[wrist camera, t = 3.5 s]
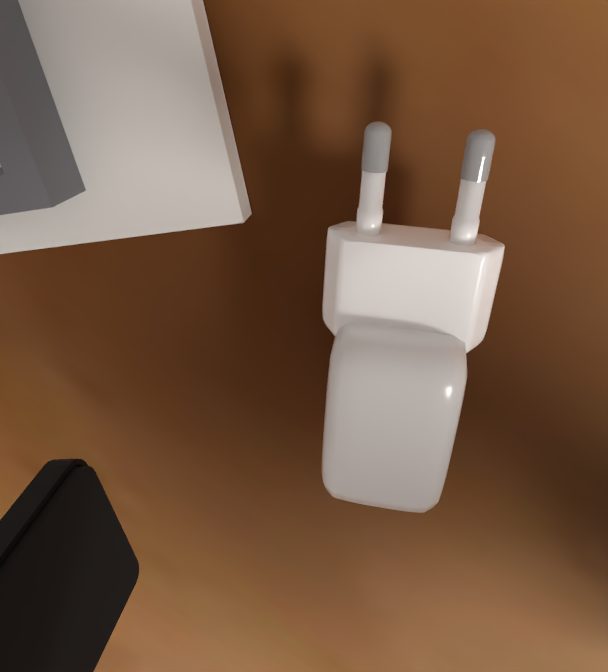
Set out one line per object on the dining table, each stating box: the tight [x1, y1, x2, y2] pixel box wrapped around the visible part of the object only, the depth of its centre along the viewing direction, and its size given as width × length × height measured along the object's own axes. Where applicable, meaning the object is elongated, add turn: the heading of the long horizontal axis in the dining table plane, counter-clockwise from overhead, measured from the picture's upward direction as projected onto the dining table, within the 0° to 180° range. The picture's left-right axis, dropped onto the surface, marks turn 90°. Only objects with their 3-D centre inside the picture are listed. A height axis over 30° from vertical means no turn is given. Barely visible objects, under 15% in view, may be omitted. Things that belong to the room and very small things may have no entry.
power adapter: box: [322, 121, 505, 513], centre depth 17 cm, size 11×5×6 cm, turn 178°
